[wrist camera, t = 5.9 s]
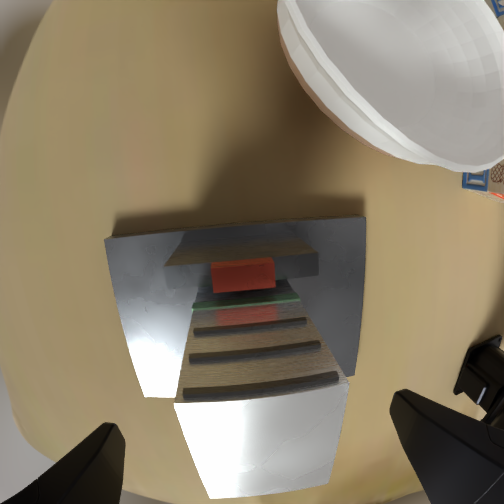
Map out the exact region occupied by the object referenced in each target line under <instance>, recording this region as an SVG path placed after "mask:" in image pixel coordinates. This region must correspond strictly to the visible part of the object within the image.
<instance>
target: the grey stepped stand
mask: <svg viewBox="0 0 504 504" xmlns="http://www.w3.org/2000/svg"><path fill="white" fill-rule="evenodd" d="M104 242H105V248H106V254H107V259H108V265H109V270H110V275H111V280H112V285H113V289H114V294H115V298H116V303H117V307H118V311H119V315H120V319H121V323H122V326H123V330H124V334H125V337H126V341H127V344H128V348H129V351H130V354H131V357H132V361H133V364H134V367H135V370H136V373H137V376H138V379H139V382H140V385H141V387H142V390H143V393H144V396H145V397H175V395H176V390H177V385H178V380H179V375H180V370H181V365H182V360H183V355H184V350H185V345H186V340H187V336H188V331H189V327H190V322H191V317H192V305H193V302H195V300H196V295H197V291H198V287H207V286H213V293H221V292H232V291H243V290H253V289H264V288H273V287H276V285H275V280H282V279H287V281H288V283H289V284H290V286H291V287H292V289H293V291H294V292H295V293H297V294H298V295H299V297H300V302H301V304H302V305H303V307H304V309H305V310H306V312H307V313H308V315H309V317H310V318H311V320H312V322H313V323H314V325H315V327H316V328H317V330H318V332H319V333H320V335H321V337H322V338H323V340H324V341H325V343H326V345H327V346H328V348H329V350H330V351H331V353H332V355H333V356H334V358H335V360H336V361H337V363H338V365H339V366H340V368H341V370H342V371H343V373H344V375H345V376H346V377H349V376H353V375H355V368H356V361H357V353H358V345H359V337H360V328H361V318H362V306H363V293H364V277H365V252H366V217H364V216H360V215H344V216H326V217H310V218H295V219H281V220H268V221H255V222H243V223H231V224H220V225H209V226H198V227H188V228H177V229H168V230H158V231H149V232H140V233H131V234H122V235H114V236H110V237H108V238H106V239H104Z"/></svg>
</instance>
